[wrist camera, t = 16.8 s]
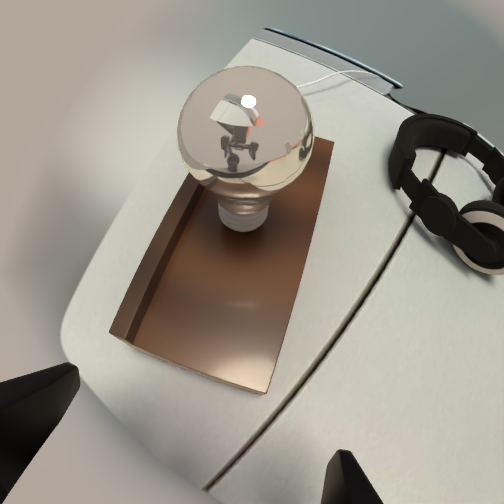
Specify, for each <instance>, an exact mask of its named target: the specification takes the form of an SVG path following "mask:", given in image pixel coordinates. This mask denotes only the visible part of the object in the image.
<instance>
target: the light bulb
mask: <svg viewBox="0 0 504 504" xmlns="http://www.w3.org/2000/svg"><path fill="white" fill-rule="evenodd" d="M314 138H315V128H314V121H313V116H312V113H311V110H310V108H309V105H308V103H307V101H306V99H305V98H304V96H303V95H302V94H301V92H300V91H299V90H298V89H297V87H296V86H295V85H294V84H292V83H291V82H290V81H289V80H287V79H286V78H284V77H283V76H281V75H280V74H278V73H276V72H274V71H271V70H268V69H265V68H261V67H255V66H238V67H232V68H227V69H224V70H221V71H219V72H217V73H215V74H213V75H211V76H210V77H208V78H206V79H205V80H204V81H202V82H201V83H200V84H199V85H198V86H197V87H196V88H195V89H194V90H193V91H192V93H191V94H190V95H189V96H188V98H187V100H186V102H185V104H184V106H183V108H182V110H181V112H180V117H179V121H178V127H177V141H178V147H179V151H180V154H181V157H182V160H183V162H184V164H185V166H186V168H187V169H188V171H189V172H190V174H191V175H192V176H193V177H194V178H195V179H196V181H197V182H198V183H200V184H201V185H202V186H203V187H205V188H206V189H208V190H209V191H210V192H212V193H213V195H214V197H215V199H216V200H217V202H218V209H219V217H220V219H221V221H222V222H223V224H224V225H226V226H227V227H229V228H230V229H233V230H235V231H239V232H248V231H252V230H254V229H256V228H257V227H259V226H260V225H261V224H262V223H263V222H264V221H265V219H266V217H267V214H268V207H269V204H270V202H271V201H272V199H273V197H274V195H275V194H277V193H279V192H281V191H282V190H284V189H285V188H287V187H288V186H289V185H291V184H292V183H293V182H294V181H295V180H296V179H297V178H298V176H299V175H300V174H301V173H302V171H303V170H304V168H305V167H306V165H307V163H308V161H309V158H310V156H311V153H312V150H313V146H314Z"/></svg>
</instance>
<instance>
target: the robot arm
mask: <svg viewBox="0 0 504 504" xmlns="http://www.w3.org/2000/svg"><path fill="white" fill-rule="evenodd" d="M79 388H80V377H79V370H78V367H77V366H75V365H73V364H71V363H69V362H66V363H63V364H60V365H56V366H53V367H50V368H47V369H44V370H40V371H37V372H34V373H31V374H27V375H24V376H21V377H17V378H14V379H10V380H7V381H3V382H0V504H2V503H3V501H4V500H5V499H6V497H7V496H8V494H9V492H10V491H11V489H12V488H13V486H14V485H15V483H16V482H17V480H18V479H19V477H20V476H21V475H22V473H23V472H24V470H25V469H26V468H27V466H28V465H29V463H30V462H31V460H32V459H33V457H34V456H35V455H36V453H37V452H38V450H39V449H40V448H41V447H42V445H43V444H44V442H45V441H46V439H47V438H48V437H49V436H50V434H51V433H52V431H53V430H54V429H55V427H56V426H57V425H58V423H59V422H60V420H61V419H62V417H63V416H64V414H65V412H66V410H67V409H68V407H69V405H70V403H71V402H72V400H73V398H74V397H75V395H76V393H77V392H78V390H79ZM321 504H384V503H383V502H382V500H381V499H380V497H379V496H378V494H377V492H376V491H375V489H374V488H373V486H372V484H371V483H370V481H369V480H368V478H367V476H366V475H365V473H364V472H363V470H362V468H361V467H360V465H359V464H358V462H357V460H356V459H355V457H354V456H353V454H352V452H351V451H349V450H342V449H339V450H337V451H336V453H335V454H334V456H333V457H332V458H331V460H330V461H329V463H328V465H327V469H326V475H325V482H324V488H323V494H322V499H321Z"/></svg>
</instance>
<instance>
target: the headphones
mask: <svg viewBox="0 0 504 504" xmlns="http://www.w3.org/2000/svg"><path fill="white" fill-rule="evenodd" d="M477 134H478V133H477V131H475V130H474V129H472V128H470V127H469V126H467V125H465V124H463V123H461V122H459V121H456V120H454V119H451V118H448V117H444V116H440V115H435V114H417V115H413V116H411V117H409V118H407V119H406V120H404V121H403V122H402V124H401V125H400V128H399V131H398V134H397V137H396V140H395V143H394V146H393V149H392V151H391V154H390V158H389V172H390V178H391V181H392V185H393V188H394V189H398V190H400V187H402V189H403V190H404V192H405V193H406V194H407V196H408V197H409V198H410V199H411V201H412V202H411V204H410V206H409V208H410V209H411V210H412V211H413V212H414V213H415V214H416V215H418V216H419V217H420V218H421V220H422V222H423V224H424V225H425V227H426V228H427V229H428V230H429V231H430V232H432V233H433V234H435V235H438V236H443V237H444V238H445V239H447V240H448V241H449V242H451V245H452V247H453V249H454V251H455V252H456V253H457V255H458V256H459V257H460V258H461V259H462V260H463V261H464V262H465V263H466V264H467V265H469V266H470V267H472V268H474V269H475V270H477V271H480V272H483V273H486V274H491V275H502V274H504V156H502V154H501V153H500V152H499V151H498V150H497V149H496V147H494V148H493V150H492V151H491V150H490V149H489V148H488V147H487V146H486V145H485V144H483V143H482V142H481V141H479V140H478V139H477V138H476V136H477ZM421 145H431V146H437V147H441V148H445V149H448V150H451V151H453V152H456V153H459V154H461V155H463V156H464V157H465V156H466V155H467V153H468V152H469V153H470V154H472V155H473V156H474V157H476V158H477V159H478V160H480V161H481V162H482V163H483V164H484V166H483V168H482V170H483V171H484V172H485V173H487V174H488V175H489V178H490V180H491V181H492V182H493V184H495V185H496V187H495V189H494V193H493V199H492V201H486V200H478V201H473V202H471V203H468V204H467V205H465V206H464V207H463V208H462V209H461V210H460V212H458V209H457V207H456V205H455V203H454V202H453V201H452V200H451V198H449V197H448V196H446V195H444V194H442V193H439V192H438V191H437V190H436V189H435V188H434V186H433V185H432V184H431V183H430V182H429V181H428V180H427V179H423V180H422V182H420V181H419V180H418V178H417V177H416V176H415V174H414V173H413V172H412V170H411V169H412V166H413V163H414V161H415V158H416V152H415V148H414V147H417V146H421Z"/></svg>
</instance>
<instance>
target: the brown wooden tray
mask: <svg viewBox="0 0 504 504" xmlns="http://www.w3.org/2000/svg"><path fill="white" fill-rule="evenodd" d="M333 146H334V142H332V141H329V140H326V139H322V138H319V137H316V136H315V138H314V146H313V150H312V153H311V156H310V158H309V161H308V163H307V165H306V167H305V168H304V170H303V171H302V173H301V174H300V175H299V176H298V178H297V179H296V180H295V181H294V182H293V183H292V184H291V185H289V186H288V187H287V188H285V189H284V190H282V191H281V192H279V193H277V194H275V195H274V197H273V199H272V201H271V202H270V204H269V207H268V214H267V217H266V219H265V221H264V222H263V223H262V224H261V225H260V226H259V227H257V228H256V229H254V230H252V231H248V232H239V231H235V230H233V229H230V228H229V227H227V226H226V225H224V224H223V222H222V221H221V219H220V217H219V209H218V202H217V200H216V199H215V197H214V195H213V193H212V192H210V191H209V190H208V189H206V188H205V187H203V186H202V185H201V184H200V183H198V182H197V181H196V179H195V178H194V177H193V176H192V175H191V174H190V172H189V173H188V175H187V177H186V179H185V180H184V182H183V184H182V186H181V187H180V189H179V191H178V193H177V194H176V196H175V198H174V200H173V202H172V203H171V205H170V207H169V209H168V211H167V213H166V214H165V216H164V218H163V220H162V222H161V224H160V226H159V228H158V230H157V231H156V233H155V235H154V237H153V239H152V241H151V243H150V245H149V247H148V249H147V251H146V253H145V255H144V257H143V259H142V261H141V263H140V265H139V267H138V269H137V271H136V273H135V275H134V277H133V279H132V282H131V284H130V286H129V288H128V290H127V292H126V294H125V297H124V299H123V301H122V303H121V305H120V308H119V310H118V312H117V314H116V316H115V319H114V321H113V323H112V326H111V328H110V330H109V333H110V334H112V335H113V336H115V337H116V338H118V339H120V340H121V341H123V342H124V343H126V344H128V345H129V346H131V347H133V348H134V349H136V350H138V351H141V352H143V353H145V354H148V355H150V356H152V357H155V358H157V359H160V360H162V361H164V362H167V363H169V364H172V365H174V366H177V367H180V368H182V369H185V370H187V371H190V372H193V373H195V374H198V375H201V376H204V377H206V378H209V379H212V380H215V381H218V382H221V383H224V384H227V385H230V386H233V387H236V388H239V389H242V390H245V391H248V392H252V393H255V394H258V395H264V394H266V393H267V391H268V388H269V384H270V381H271V378H272V375H273V372H274V369H275V366H276V362H277V359H278V356H279V353H280V349H281V346H282V343H283V340H284V336H285V333H286V330H287V326H288V323H289V319H290V316H291V312H292V309H293V306H294V302H295V298H296V295H297V291H298V288H299V284H300V281H301V277H302V273H303V269H304V266H305V262H306V258H307V254H308V251H309V247H310V243H311V239H312V235H313V231H314V227H315V223H316V219H317V215H318V211H319V207H320V203H321V199H322V195H323V190H324V186H325V182H326V177H327V173H328V169H329V164H330V160H331V155H332V150H333Z"/></svg>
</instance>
